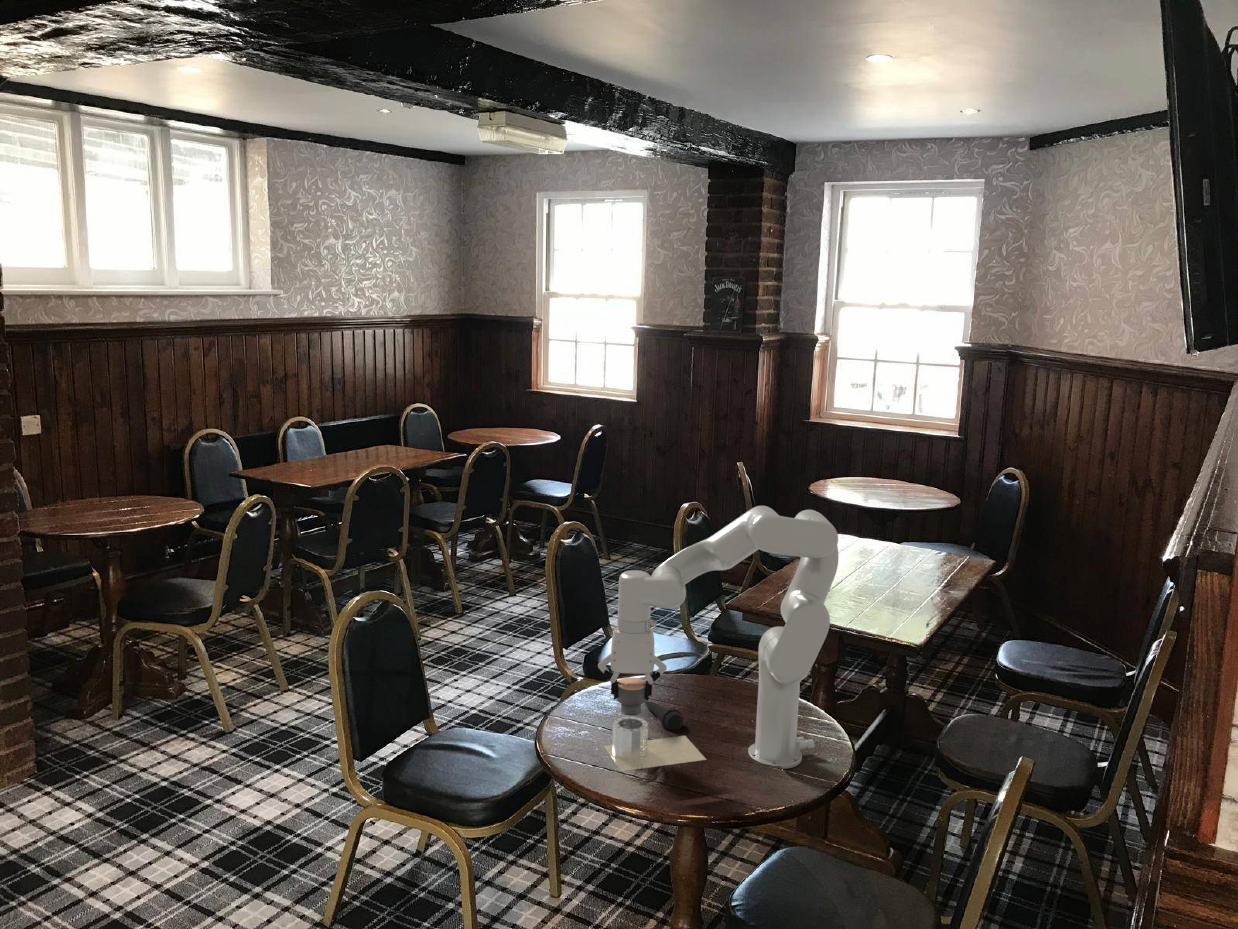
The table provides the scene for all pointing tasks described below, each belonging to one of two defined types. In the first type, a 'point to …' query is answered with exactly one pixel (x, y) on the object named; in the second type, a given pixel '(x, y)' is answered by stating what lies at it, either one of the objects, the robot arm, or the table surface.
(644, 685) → the peach ball on collar
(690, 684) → the table surface
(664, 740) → the cylinder on base plate
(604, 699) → the table surface
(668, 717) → the microphone
